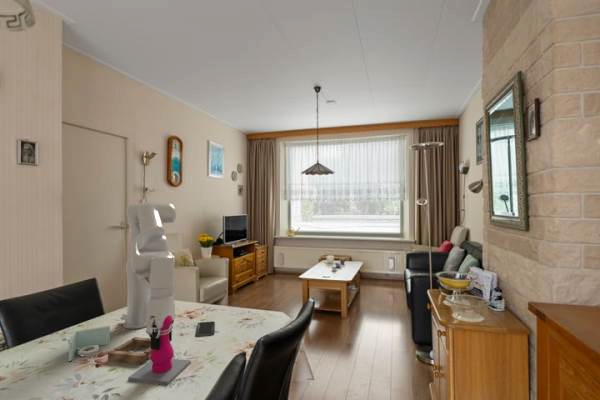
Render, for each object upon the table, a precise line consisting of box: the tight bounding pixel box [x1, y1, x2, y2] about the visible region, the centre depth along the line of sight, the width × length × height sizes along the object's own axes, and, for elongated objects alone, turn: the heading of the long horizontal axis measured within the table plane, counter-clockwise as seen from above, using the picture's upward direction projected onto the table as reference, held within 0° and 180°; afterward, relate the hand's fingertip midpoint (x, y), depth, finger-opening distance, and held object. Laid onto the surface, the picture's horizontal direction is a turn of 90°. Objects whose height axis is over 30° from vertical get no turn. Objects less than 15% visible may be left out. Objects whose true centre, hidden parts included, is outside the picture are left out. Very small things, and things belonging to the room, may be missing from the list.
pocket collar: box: [107, 336, 153, 366], centre depth 120 cm, size 14×14×3 cm
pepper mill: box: [150, 315, 175, 373], centre depth 108 cm, size 7×7×20 cm
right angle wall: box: [68, 325, 111, 362], centre depth 122 cm, size 12×12×8 cm
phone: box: [195, 320, 216, 338], centre depth 145 cm, size 8×1×15 cm
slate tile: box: [127, 358, 192, 386], centre depth 108 cm, size 14×14×1 cm
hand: (161, 344), depth 108 cm, fingers open, 5 cm apart
